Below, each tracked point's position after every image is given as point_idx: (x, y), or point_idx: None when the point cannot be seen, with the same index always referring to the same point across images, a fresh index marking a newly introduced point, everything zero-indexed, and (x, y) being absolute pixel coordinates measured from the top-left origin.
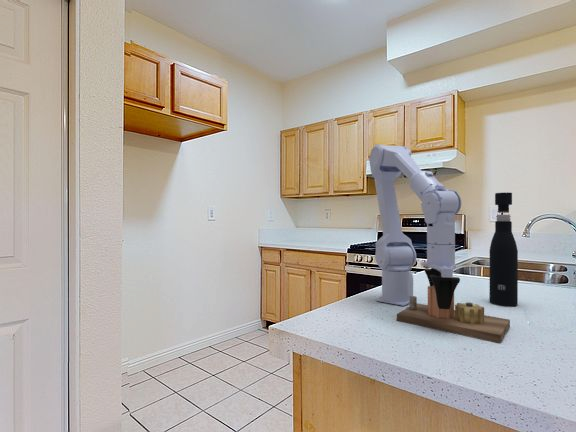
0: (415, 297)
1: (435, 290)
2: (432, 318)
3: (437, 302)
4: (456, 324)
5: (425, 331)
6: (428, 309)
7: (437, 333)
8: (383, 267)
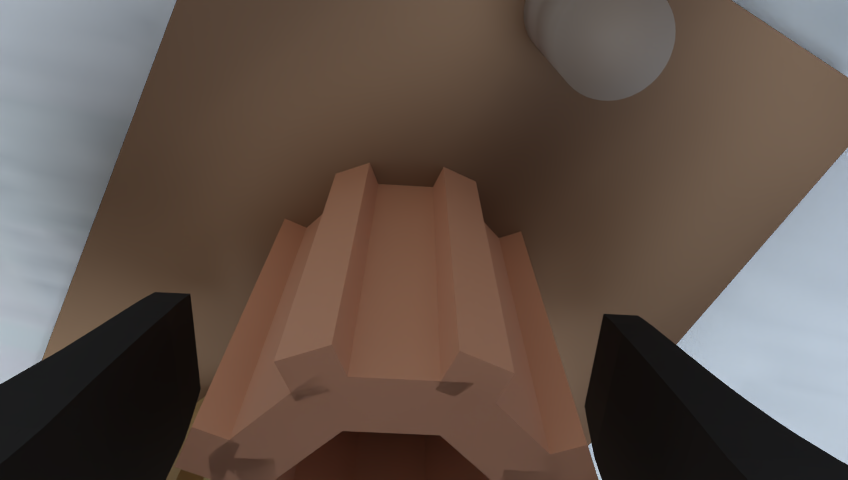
0: (566, 76)
1: (22, 410)
2: (227, 174)
3: (128, 316)
4: None
5: (22, 41)
6: (440, 190)
7: (16, 145)
8: None
